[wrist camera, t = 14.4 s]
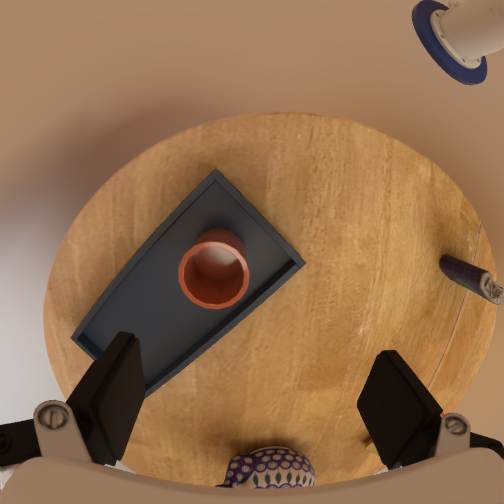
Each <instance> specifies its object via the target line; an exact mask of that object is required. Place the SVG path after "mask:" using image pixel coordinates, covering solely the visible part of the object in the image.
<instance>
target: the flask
mask: <svg viewBox="0 0 504 504" xmlns="http://www.w3.org/2000/svg"><path fill="white" fill-rule="evenodd" d="M439 265H440V268H441V270H442V271H443V273H444V274H445V275H446V276H447V277H448V278H450V279H451V280H453V281H455V282H456V283H458V284H460V285H461V286H463V287H465V288H467V289H469V290H471V291H473V292H475V293H476V294H478V295H480V296H482V297H483V298H485V299H487V300H488V301H490V302H492V303H494V304H497V305H498V304H501V303H502V301H503V300H504V289H503V288H502V287H499V286H498V285H497V284H496V283H495V282H494V281H493V279H492V277H491V274H490V273H489V272H488V271H486V270H483V269H481V268H478V267H476V266H473V265H471V264H469V263H467V262H464V261H462V260H459V259H457V258H454V257H452V256H449V255H448V254H445V255H442V257H441V259H440V262H439Z"/></svg>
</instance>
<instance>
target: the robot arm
mask: <svg viewBox="0 0 504 504" xmlns="http://www.w3.org/2000/svg"><path fill="white" fill-rule="evenodd" d="M448 4H449V7H450V9H448V10H446V11H444V10H436V11H434V12H433V13H432V14H431V16H430V23H431V27H432V29H433V32H434V34H435V36H436V38H437V39H438V41H439V43H440V44H441V45H442V47H443V48H444V49H445V50H446V52H447V53H448V54H449V55H450V56H451V57H452V58H453V59H454V60H455V61H456V62H458V63H459V64H460V65H462V66H464V67H466V68H469V69H474V68H477V67H478V66H479V65H480V63H481V57H482V56H484V55H487V54H490V53H493V52H496V51H498V50H501V49H504V0H468V1H466V2H465V3H463V4H462V3H460V2H457V3H455V4H454V2H453V1H448ZM455 6H456V7H455ZM145 393H146V389H145V382H144V374H143V367H142V358H141V349H140V340H139V338H136V337H135V334H134V333H129V332H124V331H119V332H118V333H117V335H116V336H115V338H114V339H113V340H112V342H111V343H110V344H109V346H108V347H107V349H106V350H105V351H104V353H103V354H102V356H101V357H100V359H96V360H95V361H94V362H93V363H92V365H91V366H90V367H89V369H88V370H87V372H86V373H85V375H84V376H83V377H82V379H81V380H80V382H79V383H78V385H77V386H76V388H75V389H74V391H73V392H72V394H71V395H70V397H69V398H68V400H67V401H66V403H64V402H62V401H57V400H49V401H45V402H43V403H41V404H40V405H39V406H38V407H37V408H36V409H35V412H34V419H29V420H25V421H21V422H15V423H9V424H3V425H0V504H504V447H503V445H502V443H501V442H500V441H497V440H495V439H492V438H488V437H485V436H482V435H478V434H475V433H472V432H470V424H469V422H468V421H467V419H466V418H465V417H463V416H462V415H460V414H457V413H448V414H446V415H444V416H443V417H441V416H440V415H441V413H442V412H443V409H442V408H441V407H440V405H439V404H438V403H437V402H436V400H435V399H434V398H433V396H432V395H431V394H430V392H429V391H428V390H427V389H426V387H425V386H424V385H423V383H422V382H421V381H420V380H419V378H418V377H417V376H416V375H415V373H414V372H413V371H412V370H411V368H410V367H409V366H408V365H407V363H406V362H405V361H404V360H403V358H402V357H401V356H400V355H399V354H398V352H397V351H396V350H383V351H382V352H381V353H380V354H378V355H377V357H376V359H375V362H374V364H373V367H372V369H371V371H370V374H369V376H368V378H367V381H366V383H365V385H364V388H363V390H362V392H361V394H360V396H359V398H358V401H357V408H358V410H359V412H360V415H361V417H362V419H363V421H364V423H365V425H366V428H367V430H368V432H369V434H370V436H371V438H372V441H373V443H374V445H375V447H376V450H377V452H378V454H379V456H380V458H381V461H382V463H383V464H384V465H386V466H387V468H388V470H389V471H388V472H384V473H380V474H376V475H372V476H368V477H363V478H359V479H354V480H348V481H343V482H337V483H330V484H323V485H315V486H305V487H293V488H273V489H244V488H223V487H211V486H201V485H193V484H186V483H179V482H173V481H168V480H162V479H157V478H152V477H147V476H143V475H138V474H134V473H130V472H126V471H123V470H118V469H114V468H110V467H107V466H104V465H105V464H108V465H112V466H115V464H116V461H117V460H119V461H120V460H121V459H122V457H123V455H124V452H125V449H126V446H127V443H128V440H129V438H130V435H131V432H132V430H133V427H134V424H135V421H136V419H137V416H138V414H139V411H140V408H141V406H142V403H143V401H144V398H145ZM401 465H402V468H400V466H401ZM396 468H398V469H396ZM393 469H395V470H393ZM390 470H392V471H390Z"/></svg>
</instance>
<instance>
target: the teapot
mask: <svg viewBox="0 0 504 504" xmlns="http://www.w3.org/2000/svg"><path fill="white" fill-rule="evenodd" d="M315 485H316V477H315V472H314V469H313V467H312V465H311V463H310V461H309V460H308V459H307V458H306V457H305V456H304V455H302V454H300V453H299V452H297V451H294V450H292V449H290V448H287V447H281V446H271V447H264V448H260V449H258V450H255V451H253V452H251V453H250V454H238V455H236V456H234V457H233V458H232V459H231V461H230V463H229V465H228V468H227V473H226V478H225V481H224V483H223V484H221V485H216V486H214V487H223V488H244V489H273V488H293V487H305V486H315Z"/></svg>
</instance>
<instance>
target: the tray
mask: <svg viewBox="0 0 504 504" xmlns="http://www.w3.org/2000/svg"><path fill="white" fill-rule="evenodd" d="M217 228H220V229H226V230H229V231H231V232H233V233H235V234H236V235H237V236H239V238H240V239H241V240H242V241H243V243H244V245H245V247H246V251H247V255H248V263H249V271H250V276H249V285H248V288H247V290H246V291H245V293H244V295H243V297H242V298H241V299H240V300H238V301H237V302H236V303H234V304H233V305H232V306H229V307H225V308H221V309H209V308H203V307H201V306H199V305H197V304H195V303H193V302H192V301H191V300H190V299H189V298H188V297H187V296H186V295H185V294H184V292H183V291H182V288H181V285H180V283H179V279H178V270H179V264H180V262H181V260H182V258H183V256H184V254H185V253H186V252H187V250H188V249H189V248H190V246H191V245H192V244H193V242H194V241H195V240H196V239H197V238H198V237H199V236H200V235H201V234H202V233H204V232H206V231H208V230H211V229H217ZM305 264H306V262H305V261H304V260H303V259H302V257H301V256H300V255H299V254H298V253H297V252H296V251H295V250H294V249H293V248H292V247H291V246H290V244H289V243H288V242H287V241H286V240H285V239H284V238H283V237H282V236H281V235H280V234H279V233H278V232H277V231H276V230H275V228H274V227H273V226H272V225H271V224H270V223H269V222H268V221H267V220H266V219H265V218H264V217H263V216H262V215H261V214H260V213H259V212H258V211H257V210H256V209H255V208H254V206H253V205H252V204H251V203H250V202H249V201H248V200H247V199H246V198H245V197H244V196H243V195H242V194H241V193H240V192H239V191H238V190H237V189H236V188H235V187H234V186H233V185H232V184H231V183H230V182H229V181H228V180H227V179H226V178H225V177H224V176H223V175H222V174H221V173H220V172H219V171H218V170H217V169H214V170H213V171H212V172H211V173H210V174H209V175H208V176H207V177H206V178H205V179H204V180H203V181H202V182H201V183H200V184H199V185H198V186H197V187H196V188H195V189H194V190H193V191H192V192H191V193H190V194H189V195H188V196H187V197H186V199H185V200H184V201H183V202H182V203H181V204H180V205H179V206H178V207H177V208H176V209H175V210H174V211H173V212H172V213H171V214H170V215H169V217H168V218H167V219H166V220H165V221H164V222H163V223H162V224H161V225H160V226H159V227H158V229H157V230H156V231H155V232H154V233H153V234H152V235H151V236H150V238H149V239H148V240H147V241H146V242H145V243H144V244H143V245H142V247H141V248H140V249H139V250H138V251H137V252H136V254H135V255H134V256H133V257H132V258H131V260H130V261H129V262H128V263H127V264H126V266H125V267H124V268H123V269H122V270H121V272H120V273H119V274H118V275H117V277H116V278H115V279H114V280H113V282H112V283H111V284H110V285H109V287H108V288H107V289H106V290H105V292H104V293H103V294H102V296H101V297H100V298H99V299H98V301H97V302H96V303H95V305H94V306H93V307H92V309H91V310H90V311H89V313H88V314H87V315H86V317H85V318H84V320H83V321H82V322H81V324H80V325H79V326H78V328H77V329H76V331H75V332H74V334H73V335H72V336H71V339H72V340H73V341H74V342H75V343H76V344H77V345H78V346H79V347H80V348H81V349H82V350H83V351H84V352H86V353H87V354H88V355H89V356H90V357H91V358H92V359H93V360H94V361H95V360H96V359H100V357H101V356H102V354H103V353H104V351H105V350H106V349H107V347H108V346H109V344H110V343H111V342H112V340H113V339H114V338H115V336H116V335H117V333H118V332H119V331H124V332H129V333H134V334H135V337H136V338H139V340H140V349H141V358H142V367H143V374H144V382H145V389H146V393H145V398H147V397H148V396H149V395H150V394H152V393H153V392H154V391H156V390H157V389H158V388H160V387H161V386H162V385H164V384H165V383H166V382H167V381H169V380H170V379H171V378H172V377H174V376H175V375H176V374H178V373H179V372H180V371H181V370H183V369H184V368H185V367H186V366H188V365H189V364H190V363H191V362H193V361H194V360H195V359H196V358H198V357H199V356H200V355H201V354H202V353H204V352H205V351H206V350H207V349H209V348H210V347H211V346H212V345H213V344H215V343H216V342H217V341H218V340H219V339H221V338H222V337H223V336H224V335H225V334H227V333H228V332H229V331H230V330H231V329H233V328H234V327H235V326H236V325H237V324H238V323H240V322H241V321H242V320H243V319H244V318H245V317H247V316H248V315H249V314H250V313H251V312H252V311H254V310H255V309H256V308H257V307H258V306H259V305H260V304H262V303H263V302H264V301H265V300H266V299H267V298H268V297H270V296H271V295H272V294H273V293H274V292H275V291H276V290H277V289H279V288H280V287H281V286H282V285H283V284H284V283H285V282H286V281H287V280H289V279H290V278H291V277H292V276H293V275H294V274H295V273H296V272H297V271H298V270H300V268H302V267H303V266H304V265H305ZM145 398H144V399H145Z"/></svg>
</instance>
